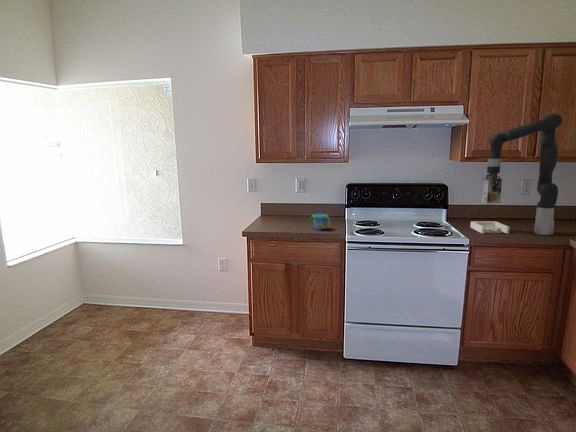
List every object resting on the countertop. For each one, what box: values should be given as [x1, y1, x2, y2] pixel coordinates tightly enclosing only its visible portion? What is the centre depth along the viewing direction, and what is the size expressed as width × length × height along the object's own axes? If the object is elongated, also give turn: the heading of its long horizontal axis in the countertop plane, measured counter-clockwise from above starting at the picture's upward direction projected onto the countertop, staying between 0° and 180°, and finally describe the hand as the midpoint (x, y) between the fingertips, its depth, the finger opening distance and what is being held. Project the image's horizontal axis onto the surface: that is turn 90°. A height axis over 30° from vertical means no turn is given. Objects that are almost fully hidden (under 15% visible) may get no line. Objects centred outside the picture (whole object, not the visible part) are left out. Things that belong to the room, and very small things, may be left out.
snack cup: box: [309, 213, 331, 231], centre depth 264 cm, size 16×10×10 cm
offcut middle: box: [484, 228, 502, 234], centre depth 245 cm, size 10×4×2 cm, turn 53°
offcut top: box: [486, 226, 502, 232], centre depth 244 cm, size 8×4×2 cm, turn 25°
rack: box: [469, 220, 510, 234], centre depth 250 cm, size 17×18×5 cm
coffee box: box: [481, 177, 503, 204], centre depth 246 cm, size 9×6×16 cm
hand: (491, 191), depth 246 cm, fingers closed on coffee box, 6 cm apart
